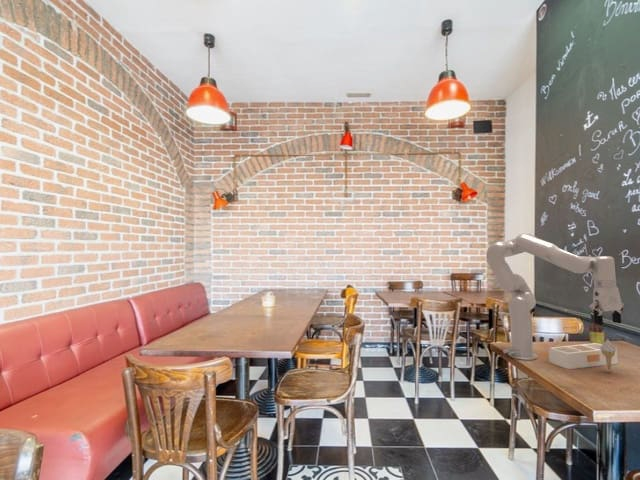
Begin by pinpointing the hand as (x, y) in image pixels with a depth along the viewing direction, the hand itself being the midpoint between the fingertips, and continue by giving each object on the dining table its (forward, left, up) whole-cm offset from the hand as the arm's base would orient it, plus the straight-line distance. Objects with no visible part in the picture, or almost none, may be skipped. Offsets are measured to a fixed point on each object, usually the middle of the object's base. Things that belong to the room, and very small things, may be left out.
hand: (608, 323), depth 151 cm
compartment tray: (+1, +13, -21) cm, 25 cm away
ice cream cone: (0, 0, -22) cm, 22 cm away
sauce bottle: (+24, +25, -22) cm, 41 cm away
